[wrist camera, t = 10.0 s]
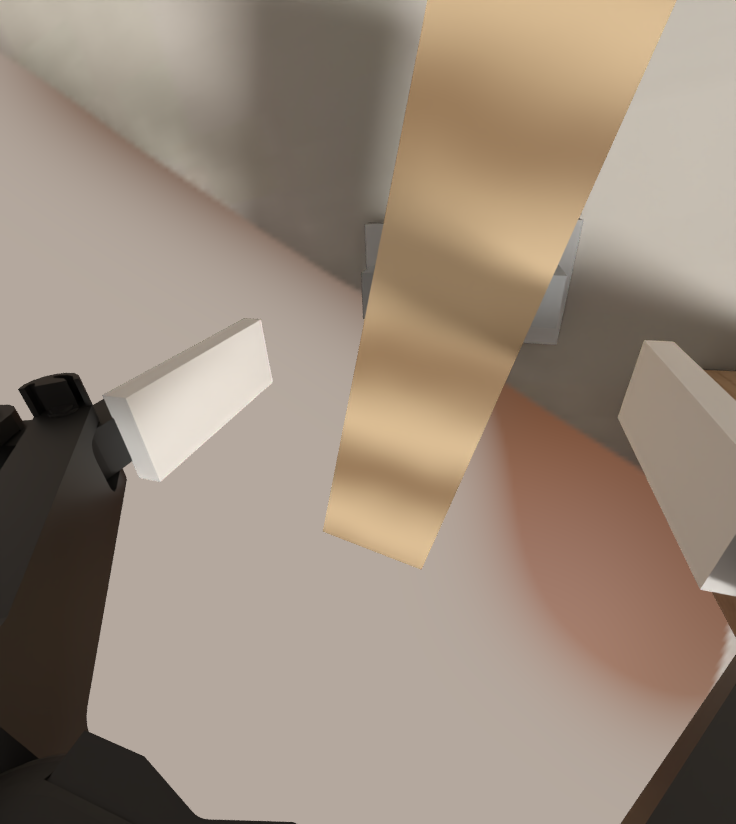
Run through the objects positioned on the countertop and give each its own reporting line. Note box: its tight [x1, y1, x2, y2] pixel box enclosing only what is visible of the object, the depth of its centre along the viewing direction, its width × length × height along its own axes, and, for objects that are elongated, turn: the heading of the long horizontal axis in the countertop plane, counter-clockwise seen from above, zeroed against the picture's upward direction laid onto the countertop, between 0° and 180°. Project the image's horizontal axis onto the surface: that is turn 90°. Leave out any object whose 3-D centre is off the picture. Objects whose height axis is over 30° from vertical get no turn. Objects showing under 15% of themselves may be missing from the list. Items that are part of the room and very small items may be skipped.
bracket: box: [361, 219, 583, 345], centre depth 24 cm, size 8×14×9 cm, turn 92°
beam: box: [323, 0, 676, 569], centre depth 18 cm, size 24×6×6 cm, turn 169°
